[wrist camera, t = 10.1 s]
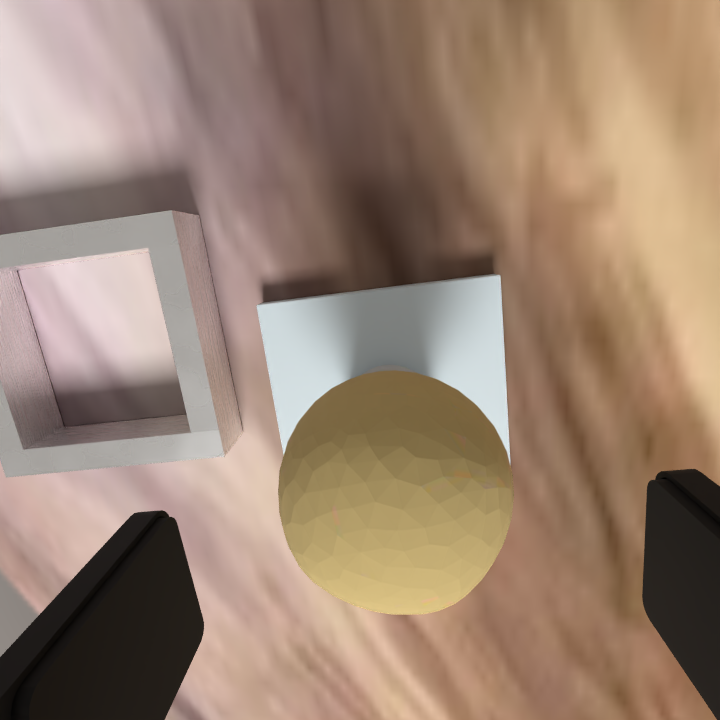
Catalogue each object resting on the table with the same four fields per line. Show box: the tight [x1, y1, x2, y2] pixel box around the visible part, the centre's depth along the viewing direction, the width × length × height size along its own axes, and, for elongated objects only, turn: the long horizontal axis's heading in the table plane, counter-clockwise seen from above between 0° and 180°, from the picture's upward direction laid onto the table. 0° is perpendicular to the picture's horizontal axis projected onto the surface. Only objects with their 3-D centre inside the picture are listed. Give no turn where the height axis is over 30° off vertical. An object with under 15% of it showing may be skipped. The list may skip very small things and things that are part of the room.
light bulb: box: [278, 365, 514, 614], centre depth 14 cm, size 6×6×10 cm
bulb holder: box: [0, 210, 243, 477], centre depth 19 cm, size 10×10×2 cm
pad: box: [257, 274, 510, 462], centre depth 20 cm, size 10×10×1 cm
